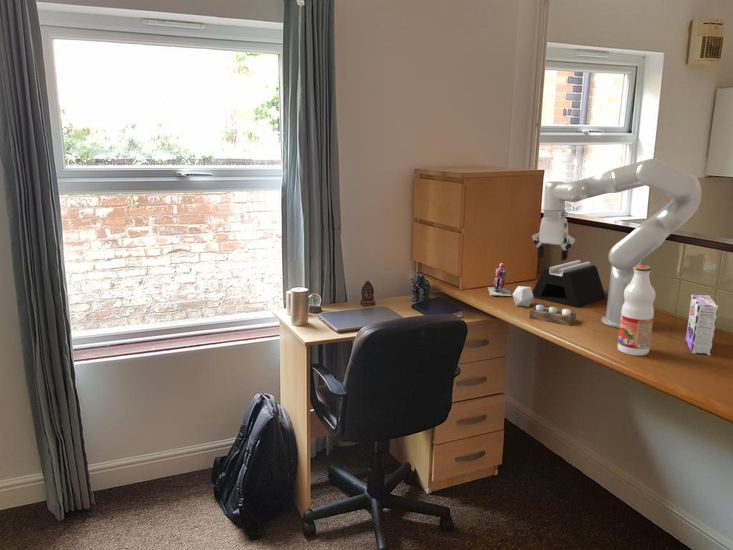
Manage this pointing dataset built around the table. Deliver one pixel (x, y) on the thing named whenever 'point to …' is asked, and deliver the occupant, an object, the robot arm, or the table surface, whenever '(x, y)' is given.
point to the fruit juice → (637, 314)
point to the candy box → (701, 324)
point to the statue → (499, 284)
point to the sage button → (553, 310)
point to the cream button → (566, 312)
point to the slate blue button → (540, 307)
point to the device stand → (570, 284)
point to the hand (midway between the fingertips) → (552, 258)
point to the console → (552, 316)
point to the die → (523, 296)
